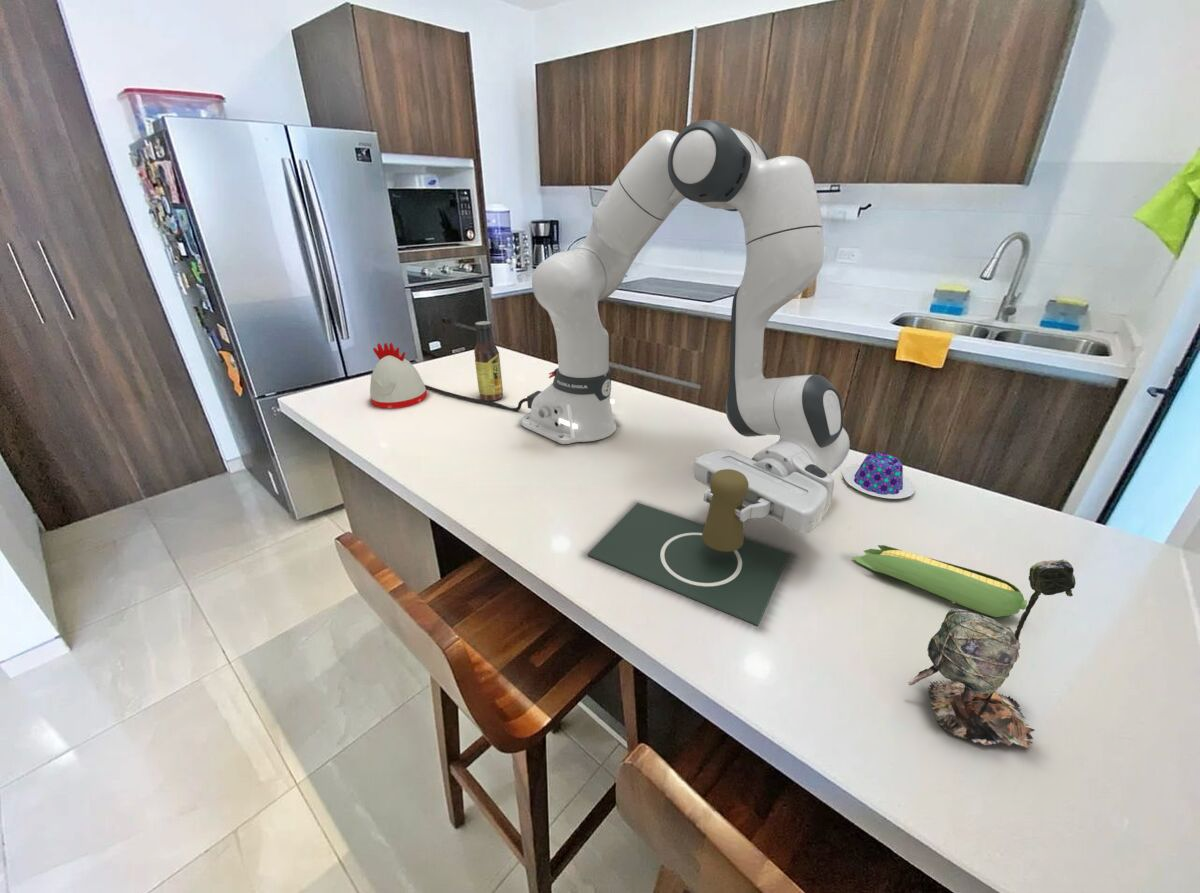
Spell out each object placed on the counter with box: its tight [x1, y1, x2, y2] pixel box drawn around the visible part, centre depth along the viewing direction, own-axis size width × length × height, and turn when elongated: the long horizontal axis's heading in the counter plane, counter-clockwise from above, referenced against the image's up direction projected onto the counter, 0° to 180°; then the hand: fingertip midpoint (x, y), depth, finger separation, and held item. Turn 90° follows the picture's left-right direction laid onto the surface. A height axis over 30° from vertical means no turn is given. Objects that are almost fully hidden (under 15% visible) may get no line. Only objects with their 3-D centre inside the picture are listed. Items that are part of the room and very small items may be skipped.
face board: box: [587, 502, 790, 627], centre depth 75 cm, size 26×16×1 cm, turn 58°
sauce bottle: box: [473, 320, 504, 402], centre depth 128 cm, size 7×6×20 cm
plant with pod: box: [907, 559, 1077, 749], centre depth 48 cm, size 8×11×20 cm
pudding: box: [842, 452, 916, 500], centre depth 91 cm, size 12×12×5 cm
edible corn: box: [851, 544, 1028, 618], centre depth 68 cm, size 5×20×5 cm, turn 54°
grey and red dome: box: [369, 342, 428, 409], centre depth 129 cm, size 14×14×15 cm
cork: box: [702, 469, 749, 552], centre depth 71 cm, size 6×6×11 cm
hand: (722, 507), depth 70 cm, fingers closed on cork, 4 cm apart
